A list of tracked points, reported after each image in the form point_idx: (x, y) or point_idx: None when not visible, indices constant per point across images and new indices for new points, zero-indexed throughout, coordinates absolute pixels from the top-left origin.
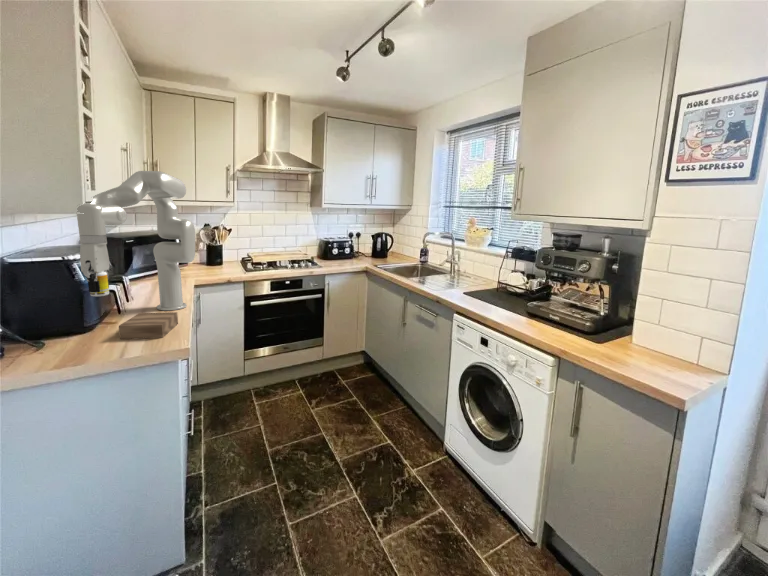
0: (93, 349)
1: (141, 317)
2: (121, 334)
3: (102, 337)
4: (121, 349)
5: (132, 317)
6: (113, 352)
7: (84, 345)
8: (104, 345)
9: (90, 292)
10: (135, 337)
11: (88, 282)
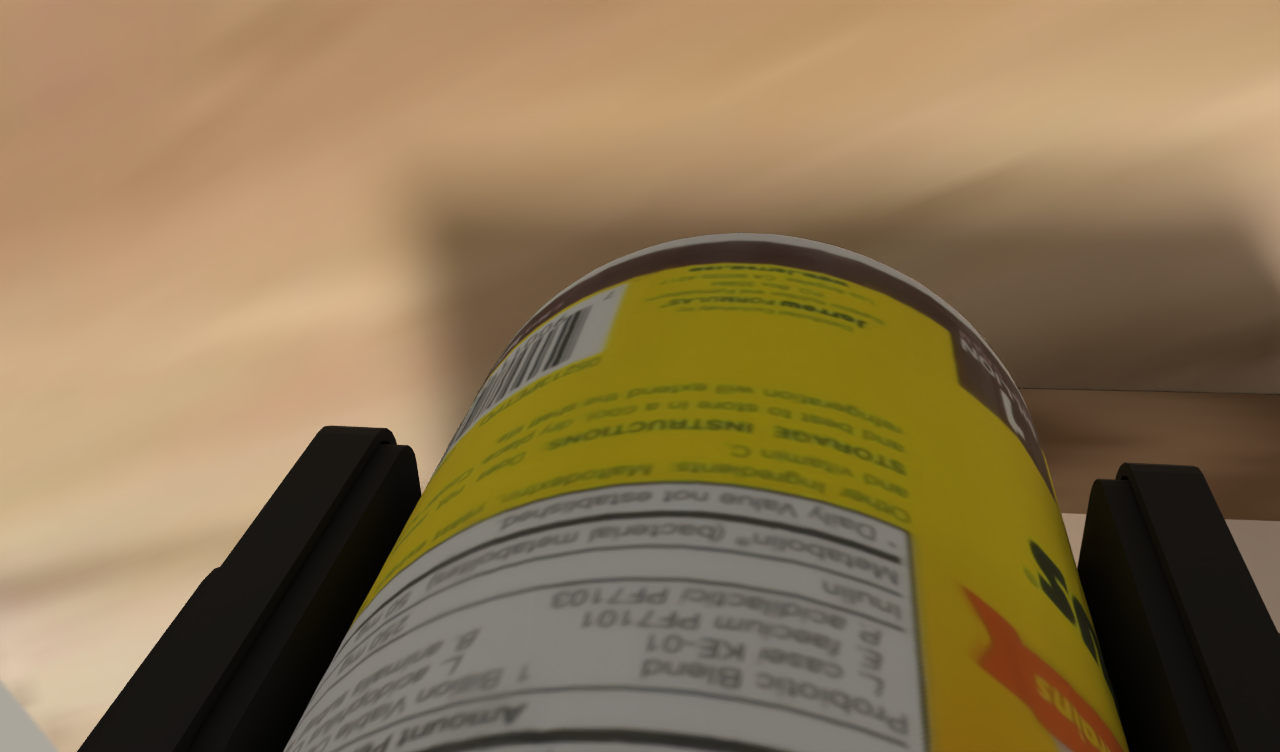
0: (139, 237)
1: None
2: None
3: (659, 105)
4: (181, 525)
5: (1068, 518)
6: (81, 485)
7: (275, 35)
8: (297, 296)
9: (510, 358)
10: None
11: (123, 726)
